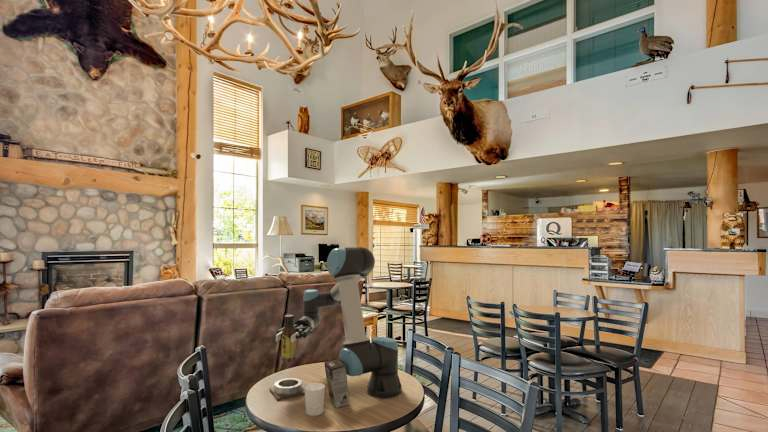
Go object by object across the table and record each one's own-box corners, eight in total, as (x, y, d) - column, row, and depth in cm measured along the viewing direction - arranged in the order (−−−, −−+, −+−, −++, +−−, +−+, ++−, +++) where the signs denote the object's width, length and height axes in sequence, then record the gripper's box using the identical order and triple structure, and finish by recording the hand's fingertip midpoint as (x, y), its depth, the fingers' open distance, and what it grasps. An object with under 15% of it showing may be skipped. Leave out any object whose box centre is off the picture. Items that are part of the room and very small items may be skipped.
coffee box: (328, 399, 172) (323, 362, 171) (343, 395, 174) (338, 357, 174) (335, 408, 163) (330, 369, 163) (350, 403, 166) (345, 364, 166)
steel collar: (305, 391, 177) (305, 384, 177) (279, 397, 172) (279, 390, 172) (296, 383, 187) (296, 376, 187) (271, 388, 181) (271, 381, 182)
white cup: (320, 417, 156) (320, 391, 156) (301, 415, 157) (301, 389, 157) (327, 408, 163) (327, 383, 164) (308, 407, 165) (309, 381, 165)
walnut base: (307, 394, 177) (307, 392, 177) (277, 400, 170) (277, 398, 171) (297, 384, 188) (297, 382, 188) (269, 390, 182) (269, 387, 182)
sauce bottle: (280, 359, 182) (280, 314, 182) (294, 357, 184) (294, 313, 185) (282, 364, 176) (282, 317, 176) (297, 362, 178) (297, 316, 179)
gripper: (322, 334, 196) (305, 348, 173) (284, 332, 199) (263, 346, 177) (322, 318, 196) (305, 330, 174) (285, 317, 200) (263, 328, 177)
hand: (284, 338), depth 175 cm, fingers closed on sauce bottle, 6 cm apart
